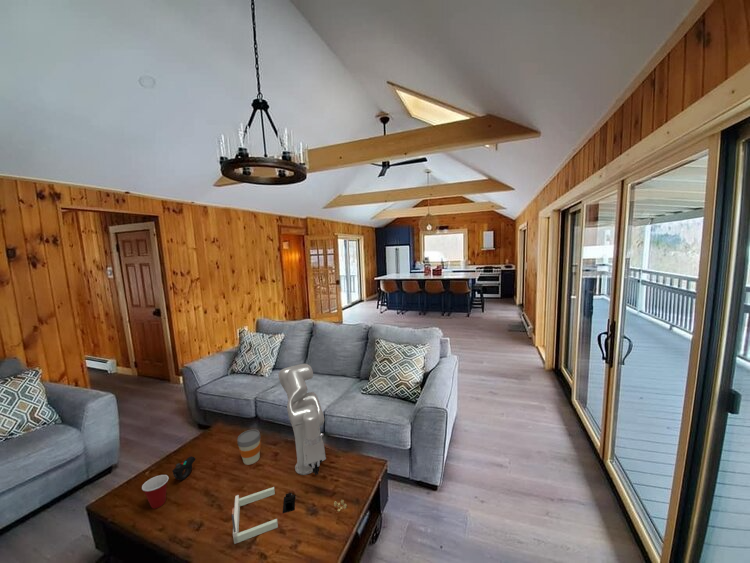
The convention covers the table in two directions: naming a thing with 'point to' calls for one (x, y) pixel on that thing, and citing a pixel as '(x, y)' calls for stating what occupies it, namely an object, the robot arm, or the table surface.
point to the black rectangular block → (289, 503)
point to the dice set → (341, 504)
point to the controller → (183, 468)
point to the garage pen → (255, 530)
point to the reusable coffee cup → (249, 446)
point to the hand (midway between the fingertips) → (316, 473)
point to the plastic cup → (156, 490)
